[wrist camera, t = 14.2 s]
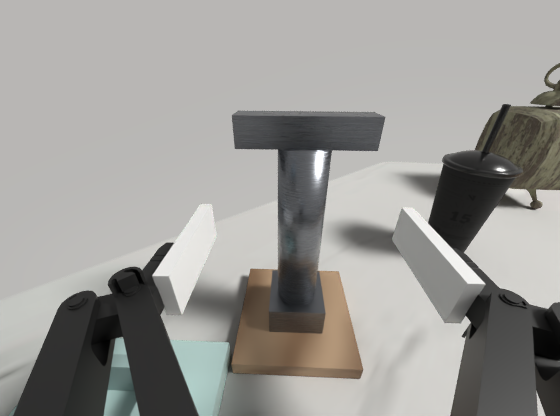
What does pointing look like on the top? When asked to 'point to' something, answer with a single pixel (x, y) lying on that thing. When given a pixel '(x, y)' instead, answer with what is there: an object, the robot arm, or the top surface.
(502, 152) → the tabletop clock
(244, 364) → the walnut pad
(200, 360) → the square socket base
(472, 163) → the drinking cup
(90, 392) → the robot arm
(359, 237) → the top surface
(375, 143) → the t key
